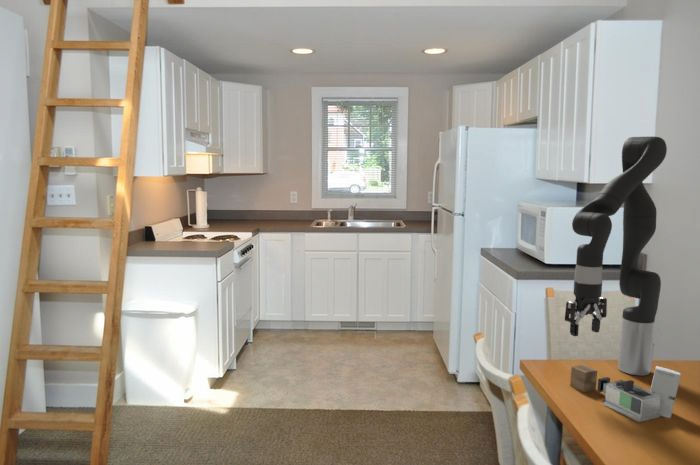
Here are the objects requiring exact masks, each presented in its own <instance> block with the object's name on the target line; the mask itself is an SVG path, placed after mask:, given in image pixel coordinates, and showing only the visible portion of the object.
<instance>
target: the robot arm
mask: <svg viewBox="0 0 700 465" xmlns="http://www.w3.org/2000/svg"><path fill="white" fill-rule="evenodd" d="M667 148H668V147H667V143H666V140H664V138H662V137H660V136H632V137H628V138H627V139H625V141H624V143H623V144H622V149H621V165H622V173H620V174H618V175H617V176H615V177H613V179H611V180H610V181H609V182H607V183H606V184H605V185H604V186H603V187H602V189H601V190H600V192H598V194H597V196H596V197H595V198H594V199H593V200H591V201H590V202H588V203H587V204H586V205H585V206H584V207H582V208H581V209H580V210H579V211H578V212H577V213H576V214H575V215H574V217H573V219H572V222H571V223H572V224H571V225H572V230H573V232H574V233H575V234H576V235H579V236H584V237H591V240H590V242H589V243H585V244H580V245H579V246H578V247H577V250H576V261H575V269H574V280H573V295H574V297H575V300H574V301H572V300H571V301H569V300H567V301H566V302H565V313H564V321H565V322H568V323H570V324H569V333H570V335H571V336H573V337H578V336H579V329H580V328H579V326H580V324H579V323H580V321H581V320H582V319H584V318H585V316H588V315H591V317H592V318H591V331H592V332H594V333H599V332H600V329H601V321H602V320H603V318H604V319H605V318H606V317H607V312H608V311H607V308H608V306H607V305H608V304H607V303H608V299H607V298H606V297H603V296H602V292H603V276H604V273H603V262H604V252H605V249H606V246H607V244H608V241H609V237H610V235H611V231H612V229H613V228H612V226H613V223H612V219H611V217H612V216H613V215H615V214H617V213H618V211H619V210H620V208H621V207H622V205H623V211H622V212H623V215H622V216H623V219H622V232H623V233H622V234H623V236H622V237H623V238H622V255H621V264H620V272H619V280H618V281H619V282H618V284H619V290H620V292H621V293H622V295H624V296H627V297H630V298H634V299H638V300H639V303H638V305H636V306H630V307H625V308H623V310H622V316H621V318H622V319H621V326H620V327H621V330H620V340H619V350H618V361H617V362H618V363H617V364H618V365H617V369H618V370H619V371H621V372H623V373H626V374H629V375H634V376H648V375H650V373H652V370H653V369H652V368H653V359H654V358H653V357H654V348H655V344H654V342H653V341H654V333H655V332H654V331H655V320H656V315H657V313H658V307H659V300H660V296H661V295H660V293H661V287H662V280H661V277H660V274H658V273H657V272H654V271H649V270H643V269H639V268H638V267H639V266H638V263H639V259H640V258H639V257H640V254H641V253H642V251H643V249H644V248H645V247H646V246H647V244H649V242H650V240H651V239H652V238H653V236H654V234H655V232H656V229H657V215H658V214H657V207H656V204H655V202H654V200H653V198H652V197H651V196H650V193H649V192H648V191H647V189H646V187H645V184H644V182H643V181H645V180H646V179H647V178H648V177H649V176H650V175H651V174H652V173H654V171H655V170H656V169H658V167H660V165H662V163H663V162H664V160H665V158H666V155H667V150H668V149H667Z"/></svg>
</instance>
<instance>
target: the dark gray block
mask: <svg viewBox="0 0 700 465" xmlns="http://www.w3.org/2000/svg"><path fill="white" fill-rule="evenodd" d="M634 383H635V381H634V380H633V379H629V380H625V383H624V391H626V392H629V391H633V386H634V385H635V384H634Z"/></svg>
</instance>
